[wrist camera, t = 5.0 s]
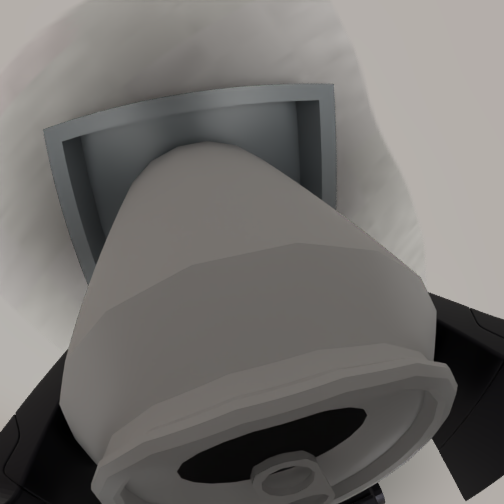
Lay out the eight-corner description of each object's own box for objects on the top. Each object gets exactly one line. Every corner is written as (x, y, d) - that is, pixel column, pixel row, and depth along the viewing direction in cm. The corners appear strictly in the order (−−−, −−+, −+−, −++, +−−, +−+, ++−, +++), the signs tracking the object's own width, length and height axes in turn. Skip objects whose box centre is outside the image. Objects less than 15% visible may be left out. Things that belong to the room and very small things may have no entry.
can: (261, 117, 12) (552, 219, 2) (296, 260, 16) (437, 460, 6) (97, 176, 12) (-64, 435, 1) (161, 308, 16) (186, 550, 5)
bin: (309, 282, 19) (330, 311, 16) (124, 320, 17) (120, 356, 14) (304, 85, 13) (333, 83, 11) (67, 123, 11) (43, 129, 9)
